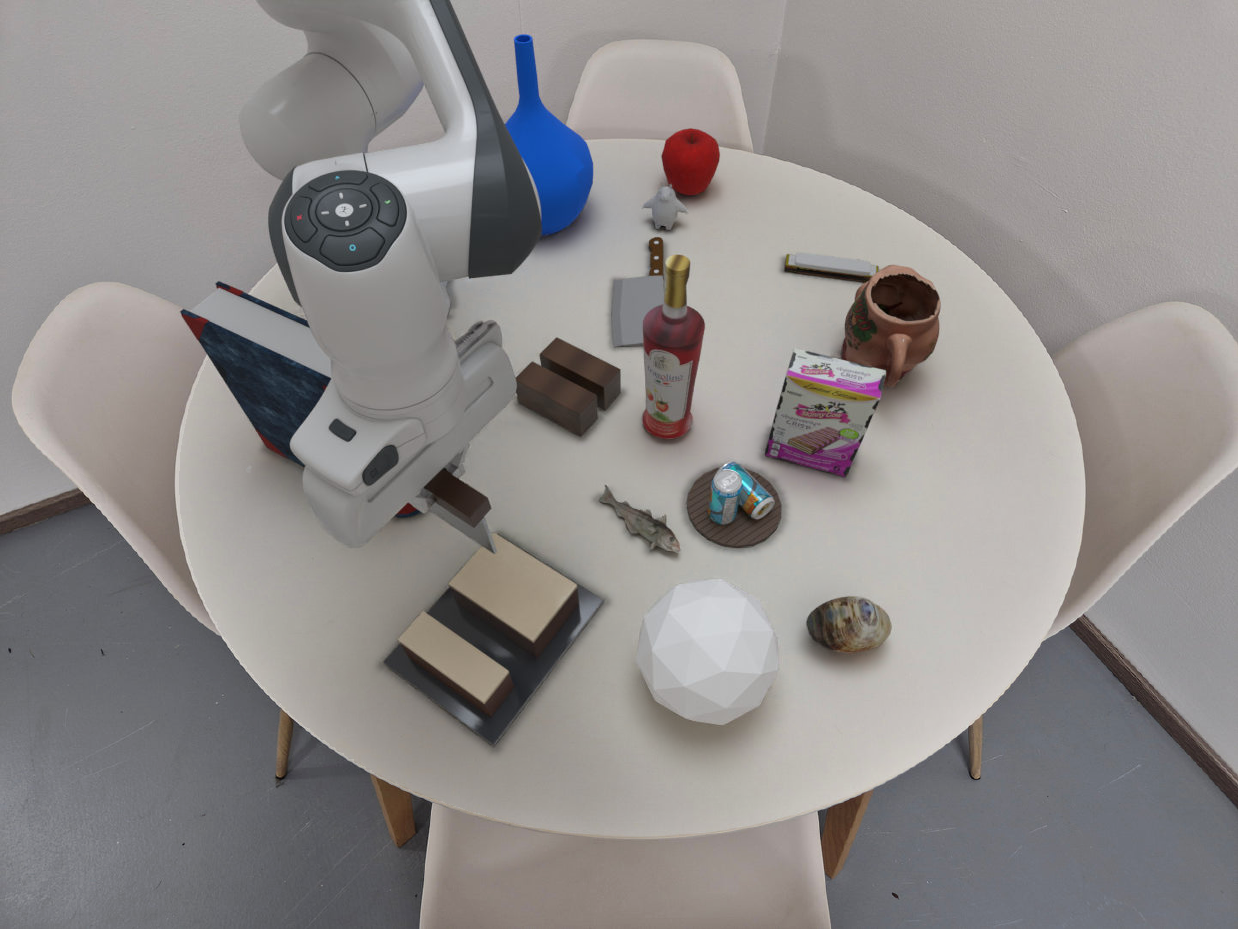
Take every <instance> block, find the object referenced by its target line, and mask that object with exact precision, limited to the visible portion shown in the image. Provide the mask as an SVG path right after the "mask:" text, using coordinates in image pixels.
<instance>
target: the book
mask: <svg viewBox="0 0 1238 929" xmlns="http://www.w3.org/2000/svg"><path fill="white" fill-rule="evenodd" d="M214 284H215V287H216V289H215V290H214V291H213V292H212V293H211V294H209V295H208V296H206V297H205V298H204V299H203V300H202V301H200V302H199V303H198V304H196V305H195V306H194V307H193V308H191V309H190V310H187V309H186V308H183V309H181V310H180V311H179V314H180V315H181V318H182V319H183V321H184V323H185V324H186V325H187V327H188V328H189V330H190V332H191V333H192V334H193V336H194V337H195V339H196V340H197V341H198V343H199V344H200V346H201V347H202V349H203V350H204V352H205V354H206V355H207V356H208V358H209V360H210V361H211V363H212V364H213V366H214V367H215V369H216V371H217V372H218V374H219V375H220V377H221V378H222V380H223V381H224V383H225V385H226V387H227V388H228V389H229V391H230V393H231V394H232V396H233V397H234V399H235V400H236V402H237V404H238V405H239V407H240V408H241V410H242V411H243V413H244V415H245V416H246V417H247V419H248V421H249V423H250V424H251V425H252V427H253V428H254V430H255V432H256V434H257V435H258V436H259V438H260V440H261V442H262V443H263V445H264V446H265V447H266V448H267V449H269V450H270V451H272V452H274V453H276V454H278V455H280V456H282V457H283V458H285V459H287V460H289V461H291V462H294V463H296V464H298V465H300V466H302V467H304V468H305V466H306V465H305V464H303V463H302V462H301V461H300V460H299V459H298V458H297V457H296V456H295V455H294V454H293V452H292V451H291V448H290V441H291V439H292V437H293V435H294V434H295V433H296V431H297V430H298V429H299V427H300V426H301V425H302V424H303V422H304V421H305V420H306V418H307V417H308V416H309V414H310V413H311V412H312V410H313V409H314V407H315V406H316V404H317V403H318V401H319V400H320V398H321V397H322V395H323V393H324V392H325V390H326V388H327V386H328V384H329V382H330V380H331V379H332V373H331V359H330V358H329V357H328V356H327V355H326V354H325V353H324V352H323V351H322V349H321V348H320V347H319V345H318V344H317V342H316V340H315V338H314V336H313V333H312V331H311V329H310V327H309V324H308V322H307V319H306V318H302V317H301V316H299V315H296V314H294V313H291V312H290V311H287V310H285V309H282V308H281V307H278V306H277V305H274V304H271V303H270V302H267V301H265V300H262V299H260V298H258V297H255V296H253V295H251V294H249V293H247V292H244V291H243V290H241V289H239V288H237V287H234V286H231V285H229V284H227V283H225V282H222V281H220V280H218V281H216V282H215V283H214ZM421 513H422V512H421V511H419V510H418V509H416V508H415V507H413V506H412V505H411V504H410V503H407V504H406V505H405V506H404V507H403V508H402V509H401V510H400V511H399V512H398V513H397V514H396V515H395V516H394V517H396V518H398V519H401V518H403V519H404V518H405V519H406V518H411V517H414V516H417V515H420V514H421Z"/></svg>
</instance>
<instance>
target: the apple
mask: <svg viewBox="0 0 1238 929" xmlns="http://www.w3.org/2000/svg"><path fill="white" fill-rule="evenodd" d="M662 149H663V150H662V152H661V163H662V169H663V172H664V175H665V179H666V181H667V184H668V186H670V184H671V185H672V189H673V190H674V192H677V193H679V194H680V195H684V196H695V195H699V194H700V193H701V194H702V193H703V192H705V191H706V190H707V189H708V188H709V186H710V184H711V182H712V180H713V178H714V177H715V175H716V172H717V168H718V166H719V163H720V158H721V152H720V147H719V144H718V142H717V140H716V138H715V137H713V136H712V135H710V134H709V133H708V132H705V131H703V130H701V129H698V128H692V127H690V128H684V129H681V130H678V131H676V132H674V133H673V134H672V135H670V136H669V137H668V138H666V139H665V142H664V146H663V148H662Z"/></svg>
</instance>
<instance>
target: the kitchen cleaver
mask: <svg viewBox="0 0 1238 929" xmlns="http://www.w3.org/2000/svg"><path fill="white" fill-rule="evenodd" d="M648 249H649V250H650V254H649V255H650V256H649V259H650V263H649V264H650V267H651V268H650V269H649V272H648V275H644V276H636V277H629V278H622V279H614V280H613V281H614V282H613V291H612V304H611V330H612V333H611V334H612V344H613V347H614V348H621V347H643V320H644V317H645V316H646V314H647V313H648V312H649V311H650V310H651V309H653V308H655V307H657V306H659V305H663V302H664V296H665V290H664V239H663V238H662V237H661V236H654V237H652V238H651V239H650V240H649V241H648Z"/></svg>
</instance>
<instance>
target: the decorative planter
mask: <svg viewBox="0 0 1238 929" xmlns="http://www.w3.org/2000/svg"><path fill="white" fill-rule="evenodd" d="M941 304H942V303H941V297H940V294H939V292H938V290H937V289H936V287H935V285H934V283H933V281H931V280H930V279H927V278H926V277H924V276H922V275H921V274H920V273H919V272H918V271H916V270H915V269H913V268H912V267H909V266H903V265H898V264H889V265H886V266H885V267H883V268H881V269H880V270H878V272H877V273H875V274H874V275H873V276H872V277H871V278H870V280H869V281H865V282H864V283H863V284H861V285H860V286H859V287H858V288H857V289H856V291H855V295H854V301H853V303H852V304H851V305H850V308H849V309H848V311H847V312H846V317H845V319H844V338H843V341H842V345H841V360H845V361H849V362H853V363H857V364H861V365H865V366H869V367H873V368H878V369H882V370H886V376H885V381H884V385H883V387H884V386H885V387H889V388H894V387H895V386H897V384H898V382H899V381H900V380H902V379H903V378H904V377H905V376H906V374H908V373H909V372H911V371H912V370H913V369H914V368H915V367H916V366H918V365H919V364H921V363H923V362H925V361H926V360H927V359H929V358H930V356H931V355H932V354H933V353H934V351H935V348H936V347H937V343H938V340H939V336H940V318H939V316H940V313H941V308H942V306H941Z"/></svg>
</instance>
